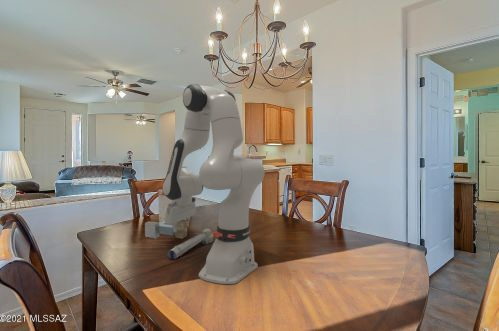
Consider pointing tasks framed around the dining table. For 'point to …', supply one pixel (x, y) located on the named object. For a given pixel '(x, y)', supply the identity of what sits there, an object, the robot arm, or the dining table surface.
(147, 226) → the pale grey block
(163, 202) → the coffeecake box
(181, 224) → the block
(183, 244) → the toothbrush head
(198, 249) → the dining table surface
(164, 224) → the bore block
